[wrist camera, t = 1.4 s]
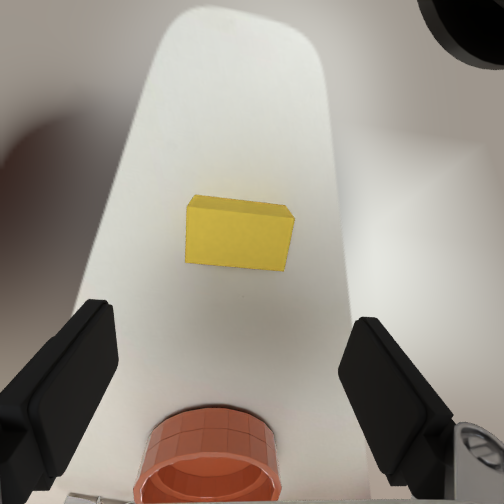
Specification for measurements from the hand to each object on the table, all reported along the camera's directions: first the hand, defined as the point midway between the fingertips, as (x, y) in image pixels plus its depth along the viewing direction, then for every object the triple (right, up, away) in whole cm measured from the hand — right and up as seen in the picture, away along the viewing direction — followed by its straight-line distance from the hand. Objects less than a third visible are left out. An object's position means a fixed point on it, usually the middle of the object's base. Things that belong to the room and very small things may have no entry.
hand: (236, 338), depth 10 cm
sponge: (0, +6, +10) cm, 12 cm away
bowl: (-4, -21, +22) cm, 31 cm away
